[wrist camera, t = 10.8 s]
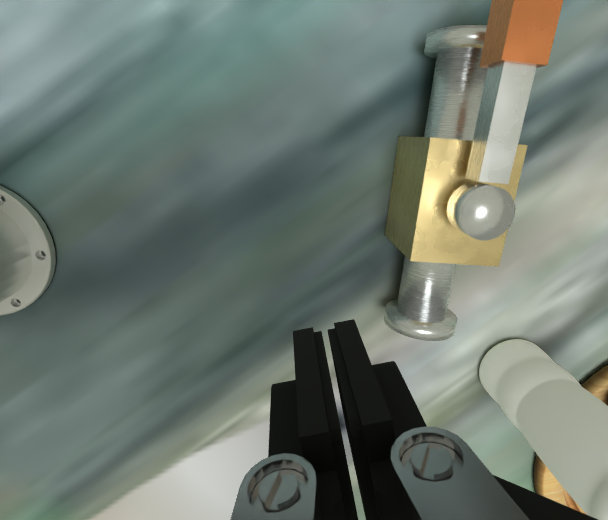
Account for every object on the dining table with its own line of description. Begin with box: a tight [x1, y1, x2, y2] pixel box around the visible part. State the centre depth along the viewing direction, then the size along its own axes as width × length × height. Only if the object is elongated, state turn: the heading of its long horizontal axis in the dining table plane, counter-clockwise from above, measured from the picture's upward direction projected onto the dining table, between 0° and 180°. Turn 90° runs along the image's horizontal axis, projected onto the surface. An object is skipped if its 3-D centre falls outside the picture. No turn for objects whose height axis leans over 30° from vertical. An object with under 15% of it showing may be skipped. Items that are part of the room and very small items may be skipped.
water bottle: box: [479, 339, 608, 520], centre depth 31 cm, size 7×7×25 cm
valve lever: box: [447, 0, 563, 241], centre depth 26 cm, size 16×4×3 cm, turn 175°
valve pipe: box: [384, 25, 527, 341], centre depth 33 cm, size 7×24×9 cm, turn 176°
